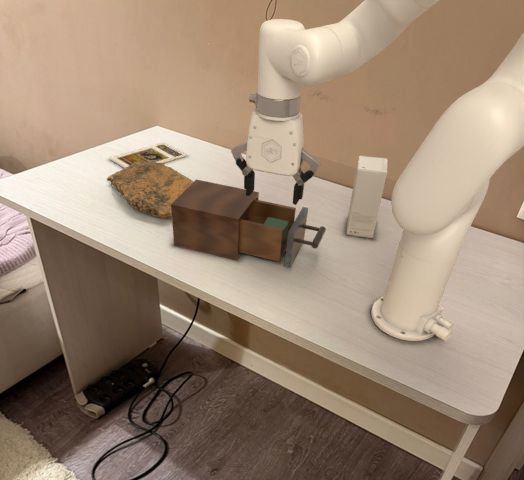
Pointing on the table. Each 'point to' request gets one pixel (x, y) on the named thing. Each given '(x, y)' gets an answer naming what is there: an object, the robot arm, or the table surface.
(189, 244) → the cabinet
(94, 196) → the table surface
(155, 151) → the trading card
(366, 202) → the white tower device
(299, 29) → the robot arm
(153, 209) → the rock
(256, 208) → the drawer
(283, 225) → the block
